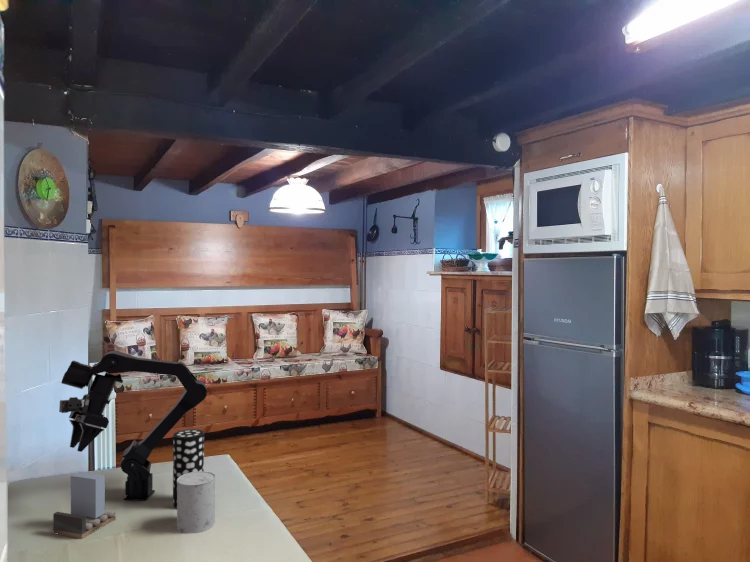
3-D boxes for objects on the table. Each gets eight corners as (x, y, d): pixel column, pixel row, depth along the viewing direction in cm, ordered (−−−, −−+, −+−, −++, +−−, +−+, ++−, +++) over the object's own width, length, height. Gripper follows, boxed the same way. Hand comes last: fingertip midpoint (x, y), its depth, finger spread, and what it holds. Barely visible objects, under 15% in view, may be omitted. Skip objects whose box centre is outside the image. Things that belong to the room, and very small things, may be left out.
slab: (80, 509, 143) (80, 471, 143) (104, 513, 141) (104, 475, 141) (70, 514, 140) (70, 475, 140) (95, 518, 138) (95, 479, 138)
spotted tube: (209, 499, 157) (209, 431, 157) (191, 511, 149) (191, 439, 149) (185, 495, 160) (186, 428, 160) (166, 506, 152) (166, 436, 152)
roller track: (88, 514, 146) (88, 496, 146) (115, 519, 144) (115, 500, 144) (53, 533, 136) (53, 513, 136) (81, 538, 133) (82, 518, 133)
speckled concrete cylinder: (179, 536, 135) (179, 487, 135) (174, 521, 143) (174, 474, 143) (218, 528, 139) (218, 481, 139) (211, 513, 148) (211, 469, 148)
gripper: (62, 384, 157) (38, 438, 152) (77, 386, 143) (51, 446, 137) (101, 395, 163) (79, 448, 158) (119, 398, 149) (95, 456, 144)
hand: (75, 449), depth 149 cm, fingers open, 9 cm apart
